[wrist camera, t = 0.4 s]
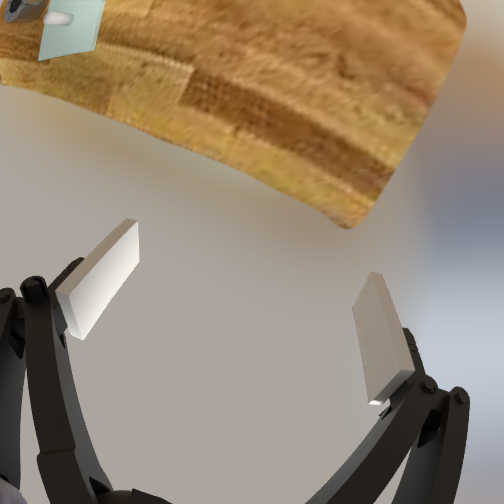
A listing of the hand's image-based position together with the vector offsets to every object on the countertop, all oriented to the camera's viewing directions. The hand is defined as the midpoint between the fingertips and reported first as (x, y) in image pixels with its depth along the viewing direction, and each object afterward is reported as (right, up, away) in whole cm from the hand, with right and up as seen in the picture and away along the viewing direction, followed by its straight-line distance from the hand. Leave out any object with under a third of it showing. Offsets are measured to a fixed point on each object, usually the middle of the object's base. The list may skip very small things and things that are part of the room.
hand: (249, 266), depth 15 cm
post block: (-31, +40, +12) cm, 52 cm away
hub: (-42, +49, +9) cm, 65 cm away
